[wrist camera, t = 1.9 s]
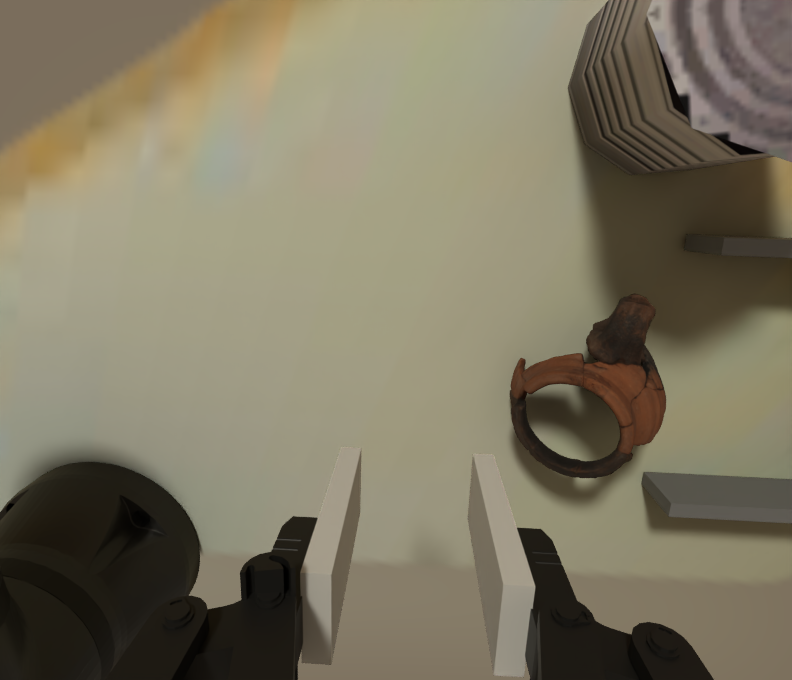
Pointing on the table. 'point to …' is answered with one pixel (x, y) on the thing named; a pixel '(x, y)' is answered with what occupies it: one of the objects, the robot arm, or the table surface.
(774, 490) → the box
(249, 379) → the table surface
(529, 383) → the brown ring with knob
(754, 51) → the can
